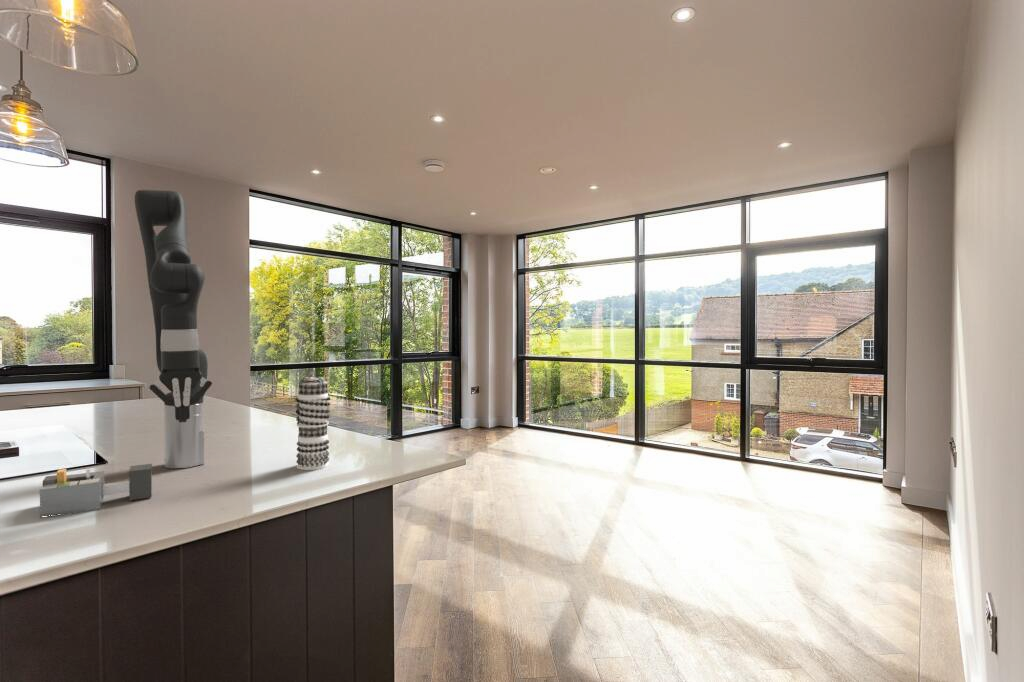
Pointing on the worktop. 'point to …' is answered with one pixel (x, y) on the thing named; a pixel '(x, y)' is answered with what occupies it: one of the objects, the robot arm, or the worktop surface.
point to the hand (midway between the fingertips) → (182, 421)
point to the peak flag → (61, 475)
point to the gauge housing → (71, 494)
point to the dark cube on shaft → (131, 483)
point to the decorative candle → (312, 423)
